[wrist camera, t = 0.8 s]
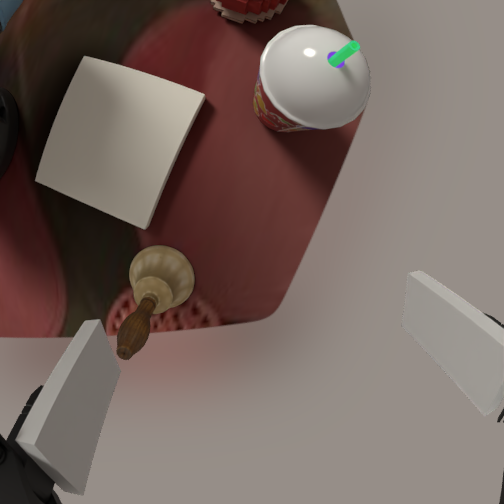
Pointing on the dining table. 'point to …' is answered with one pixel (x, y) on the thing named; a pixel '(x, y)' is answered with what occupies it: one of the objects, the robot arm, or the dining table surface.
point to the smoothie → (311, 80)
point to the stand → (117, 139)
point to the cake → (248, 9)
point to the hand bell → (153, 293)
